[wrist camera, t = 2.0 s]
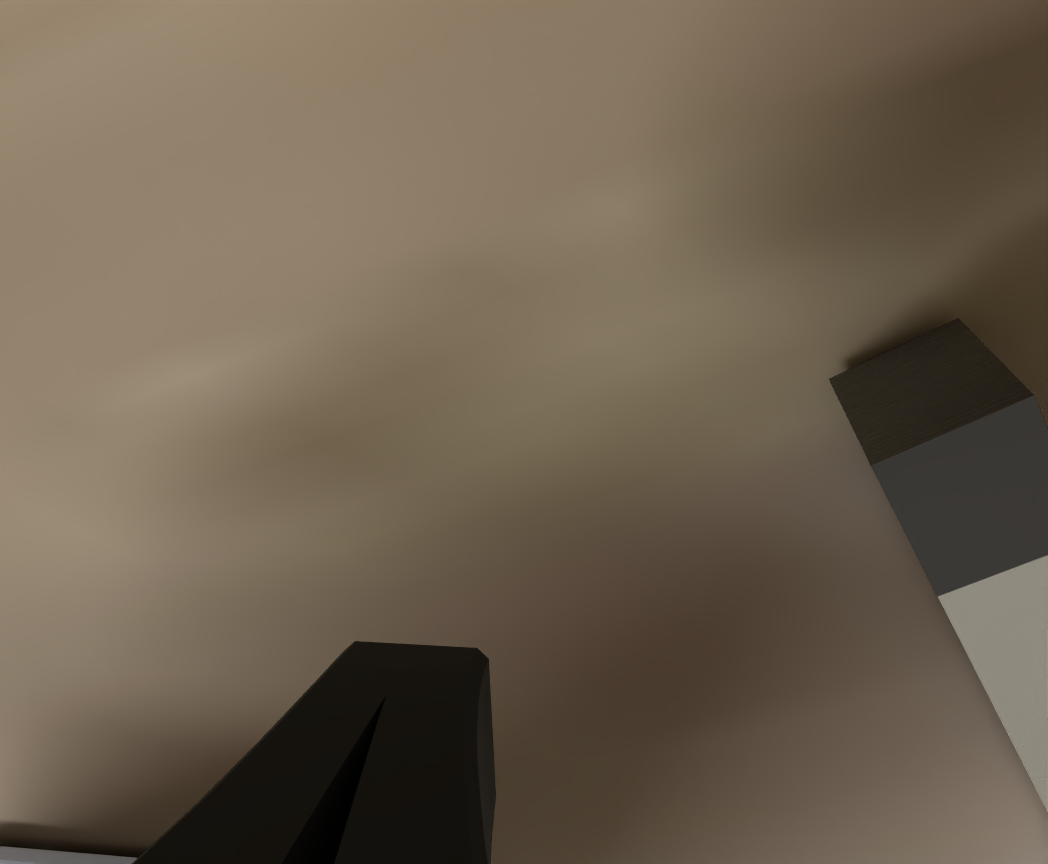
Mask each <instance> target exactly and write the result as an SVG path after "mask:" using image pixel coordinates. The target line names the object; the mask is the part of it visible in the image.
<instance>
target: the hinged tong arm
mask: <svg viewBox="0 0 1048 864" xmlns="http://www.w3.org/2000/svg"><path fill="white" fill-rule="evenodd" d="M829 380H830V383H831V385H832V387H833V389H834V391H835V393H836V395H837V397H838V399H839V401H840V403H841V405H842V407H843V409H844V411H845V413H846V415H847V417H848V419H849V421H850V424H851V426H852V428H853V430H854V432H855V434H856V436H857V438H858V440H859V442H860V444H861V446H862V448H863V450H864V452H865V454H866V456H867V458H868V460H869V463H870V465H871V467H872V469H873V471H874V472H875V474H876V476H877V478H878V480H879V482H880V484H881V486H882V488H883V490H884V492H885V494H886V496H887V498H888V500H889V502H890V504H891V506H892V508H893V510H894V512H895V514H896V516H897V518H898V520H899V522H900V524H901V526H902V527H903V529H904V531H905V533H906V535H907V537H908V539H909V541H910V543H911V545H912V547H913V549H914V551H915V553H916V555H917V557H918V559H919V561H920V563H921V565H922V567H923V569H924V571H925V573H926V575H927V577H928V579H929V581H930V582H931V584H932V586H933V588H934V590H935V592H936V594H937V596H938V598H939V600H940V602H941V604H942V606H943V608H944V610H945V612H946V614H947V616H948V618H949V620H950V622H951V624H952V626H953V627H954V629H955V631H956V633H957V635H958V637H959V639H960V641H961V643H962V645H963V647H964V649H965V651H966V653H967V655H968V657H969V659H970V661H971V663H972V665H973V667H974V669H975V671H976V673H977V675H978V677H979V679H980V681H981V682H982V684H983V686H984V688H985V690H986V692H987V694H988V696H989V698H990V700H991V702H992V704H993V706H994V708H995V710H996V712H997V714H998V716H999V718H1000V720H1001V722H1002V724H1003V726H1004V728H1005V730H1006V732H1007V734H1008V736H1009V737H1010V739H1011V741H1012V743H1013V745H1014V747H1015V749H1016V751H1017V753H1018V755H1019V757H1020V759H1021V761H1022V763H1023V765H1024V767H1025V769H1026V771H1027V773H1028V775H1029V777H1030V779H1031V781H1032V783H1033V785H1034V787H1035V789H1036V791H1037V792H1038V794H1039V796H1040V798H1041V800H1042V802H1043V804H1044V806H1045V808H1046V810H1047V812H1048V427H1047V425H1046V423H1045V420H1044V418H1043V416H1042V413H1041V411H1040V409H1039V406H1038V404H1037V402H1036V399H1035V397H1034V395H1033V394H1032V393H1031V392H1030V391H1029V390H1028V389H1027V388H1026V387H1025V386H1024V385H1023V384H1022V383H1021V382H1020V381H1019V380H1018V379H1017V378H1016V377H1015V376H1014V374H1013V373H1012V372H1011V371H1010V370H1009V369H1008V368H1007V367H1006V366H1005V365H1004V364H1003V363H1002V362H1001V361H1000V360H999V359H998V358H997V357H996V356H995V355H994V354H993V353H992V352H991V351H990V350H989V349H988V348H987V347H986V346H985V345H984V344H983V343H982V342H981V341H980V340H979V339H978V338H977V337H976V336H975V335H974V334H973V333H972V332H971V331H970V330H969V328H968V327H967V326H966V325H965V324H964V323H963V322H962V321H961V320H960V319H959V318H958V319H956V320H953V321H951V322H949V323H947V324H945V325H943V326H941V327H939V328H936V329H934V330H932V331H930V332H928V333H926V334H924V335H921V336H919V337H917V338H915V339H913V340H911V341H909V342H907V343H904V344H902V345H900V346H898V347H896V348H894V349H892V350H890V351H887V352H885V353H883V354H881V355H879V356H877V357H875V358H872V359H870V360H868V361H866V362H864V363H862V364H860V365H858V366H855V367H853V368H851V369H849V370H847V371H845V372H843V373H840V374H838V375H836V376H834V377H832V378H830V379H829Z"/></svg>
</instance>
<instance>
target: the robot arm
mask: <svg viewBox="0 0 1048 864" xmlns="http://www.w3.org/2000/svg"><path fill="white" fill-rule="evenodd" d="M495 799H496V788H495V769H494V750H493V731H492V712H491V693H490V674H489V659H488V658H487V657H486V656H485V655H484V654H483V653H482V652H481V651H480V650H479V649H478V648H467V647H449V646H431V645H413V644H395V643H377V642H359V641H355V642H354V643H353V644H351V645H350V646H349V647H348V648H347V649H346V650H345V651H344V652H343V653H342V654H341V655H340V656H339V657H338V658H337V659H336V660H335V661H334V662H333V663H332V664H331V665H330V667H329V668H328V669H327V670H326V671H325V672H324V673H323V674H322V675H321V676H320V677H319V678H318V679H317V680H316V682H315V683H314V684H313V685H312V686H311V687H310V688H309V689H308V690H307V691H306V692H305V693H304V694H303V695H302V697H301V698H300V699H299V700H298V701H297V702H296V703H295V704H294V705H293V706H292V707H291V708H290V709H289V710H288V711H287V712H286V713H285V715H284V716H283V717H282V718H281V719H280V720H279V721H278V722H277V723H276V724H275V725H274V726H273V727H272V728H271V729H270V730H269V731H268V732H267V733H266V734H265V735H264V736H263V738H262V739H261V740H260V741H259V742H258V743H257V744H256V745H255V746H254V747H253V748H252V749H251V750H250V751H249V752H248V753H247V754H246V755H245V756H244V757H243V758H242V759H241V760H240V761H239V762H238V763H237V764H236V765H235V766H234V767H233V768H232V769H231V770H230V771H229V772H228V773H227V774H226V775H225V776H224V777H223V778H222V779H221V780H220V781H219V782H218V783H217V784H216V785H215V786H214V787H213V788H212V789H211V790H210V791H209V792H208V793H207V794H206V795H205V796H204V797H203V798H202V799H201V800H200V801H199V802H198V803H197V804H196V805H195V806H193V807H192V808H191V809H190V810H189V811H188V812H187V813H186V814H185V815H184V816H183V817H182V818H181V819H180V820H179V821H178V822H177V823H175V824H174V825H173V826H172V827H171V828H170V829H169V830H168V831H167V832H166V833H165V834H163V835H162V836H161V837H160V838H159V839H158V840H157V841H156V842H155V843H154V844H153V845H151V846H150V847H149V848H148V849H147V850H146V851H145V852H144V853H143V854H142V855H141V856H139V857H138V858H135V857H124V856H112V855H100V854H88V853H76V852H64V851H52V850H40V849H28V848H17V847H5V846H0V864H490V863H491V842H492V829H493V819H494V809H495Z"/></svg>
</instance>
